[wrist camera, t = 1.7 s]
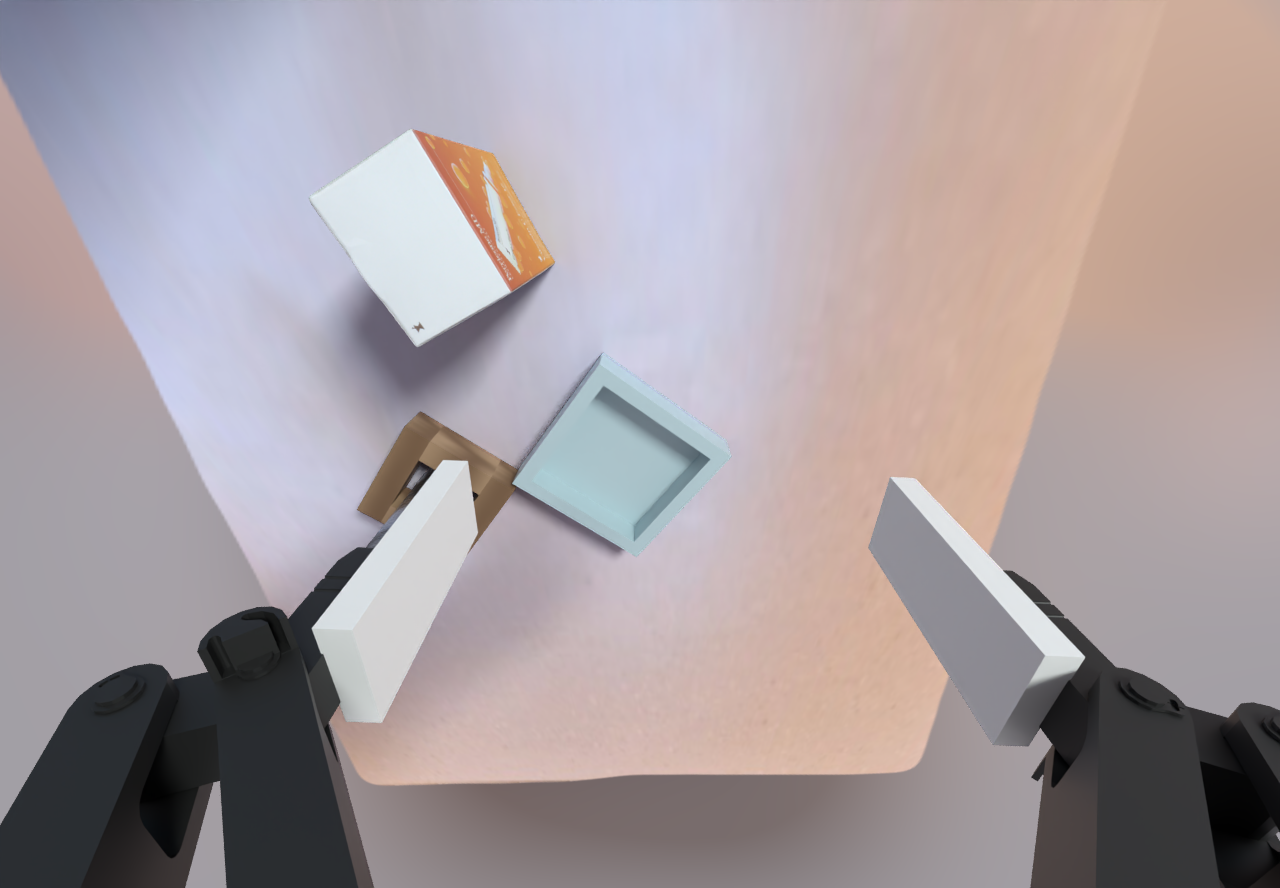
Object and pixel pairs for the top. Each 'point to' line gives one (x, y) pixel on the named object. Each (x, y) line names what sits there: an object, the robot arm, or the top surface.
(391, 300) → the small box
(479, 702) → the top surface
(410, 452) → the socket block
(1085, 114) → the top surface
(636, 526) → the tray
